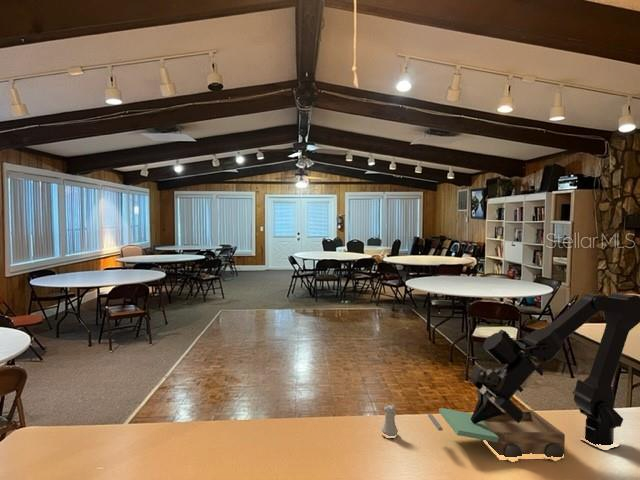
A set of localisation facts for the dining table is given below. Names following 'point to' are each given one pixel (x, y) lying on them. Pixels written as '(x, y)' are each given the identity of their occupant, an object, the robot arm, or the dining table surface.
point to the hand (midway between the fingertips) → (472, 421)
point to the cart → (526, 435)
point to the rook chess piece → (389, 421)
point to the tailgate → (465, 425)
